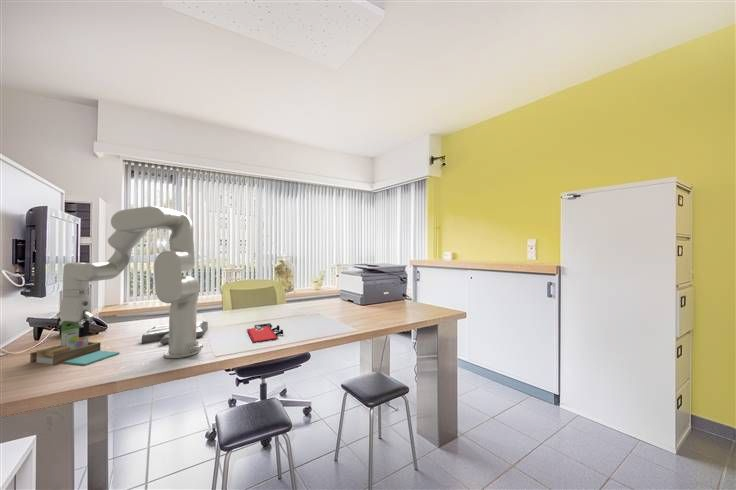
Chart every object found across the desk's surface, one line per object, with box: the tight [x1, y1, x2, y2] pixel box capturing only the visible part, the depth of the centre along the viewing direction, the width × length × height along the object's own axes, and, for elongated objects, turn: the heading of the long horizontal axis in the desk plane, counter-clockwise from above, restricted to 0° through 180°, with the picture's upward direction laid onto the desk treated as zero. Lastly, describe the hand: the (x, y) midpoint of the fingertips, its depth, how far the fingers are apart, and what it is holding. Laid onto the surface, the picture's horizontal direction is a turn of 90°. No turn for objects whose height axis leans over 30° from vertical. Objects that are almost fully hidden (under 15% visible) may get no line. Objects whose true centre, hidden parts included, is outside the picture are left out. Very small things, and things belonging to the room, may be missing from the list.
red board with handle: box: [246, 322, 284, 344], centre depth 149 cm, size 30×3×15 cm
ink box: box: [60, 322, 89, 350], centre depth 117 cm, size 7×4×13 cm, turn 161°
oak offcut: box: [36, 345, 70, 358], centre depth 110 cm, size 8×5×2 cm
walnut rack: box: [29, 341, 101, 366], centre depth 114 cm, size 12×15×4 cm
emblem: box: [141, 320, 209, 345], centre depth 142 cm, size 28×5×28 cm
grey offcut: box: [35, 357, 53, 365], centre depth 110 cm, size 8×6×2 cm
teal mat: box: [63, 350, 120, 367], centre depth 112 cm, size 10×12×1 cm
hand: (74, 335), depth 117 cm, fingers open, 9 cm apart
